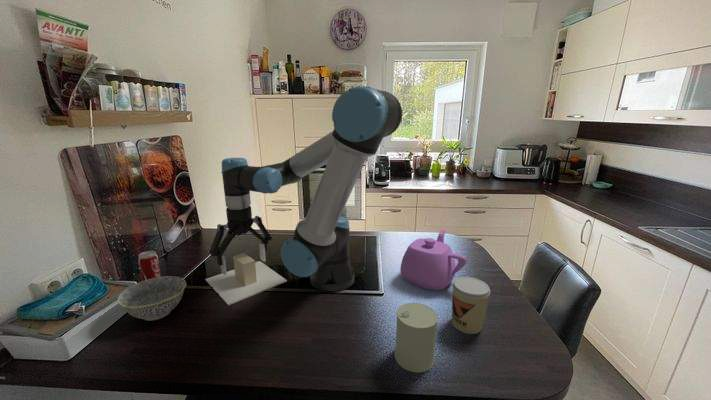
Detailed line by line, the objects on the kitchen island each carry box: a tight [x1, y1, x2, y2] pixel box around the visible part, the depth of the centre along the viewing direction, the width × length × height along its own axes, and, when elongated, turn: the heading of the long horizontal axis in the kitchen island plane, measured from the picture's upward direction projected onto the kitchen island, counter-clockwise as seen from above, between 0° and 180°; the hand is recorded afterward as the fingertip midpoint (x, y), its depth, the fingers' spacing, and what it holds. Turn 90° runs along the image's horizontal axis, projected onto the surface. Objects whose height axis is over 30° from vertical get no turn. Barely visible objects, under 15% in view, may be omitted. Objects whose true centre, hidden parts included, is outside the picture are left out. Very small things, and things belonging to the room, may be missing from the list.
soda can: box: [137, 250, 162, 282], centre depth 97 cm, size 5×5×12 cm
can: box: [394, 302, 439, 374], centre depth 68 cm, size 9×9×12 cm
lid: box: [204, 252, 288, 306], centre depth 101 cm, size 20×20×9 cm
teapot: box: [399, 230, 467, 291], centre depth 103 cm, size 23×21×15 cm
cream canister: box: [451, 276, 491, 335], centre depth 80 cm, size 9×9×12 cm
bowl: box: [116, 275, 187, 322], centre depth 84 cm, size 16×16×8 cm
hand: (244, 266), depth 101 cm, fingers open, 13 cm apart
